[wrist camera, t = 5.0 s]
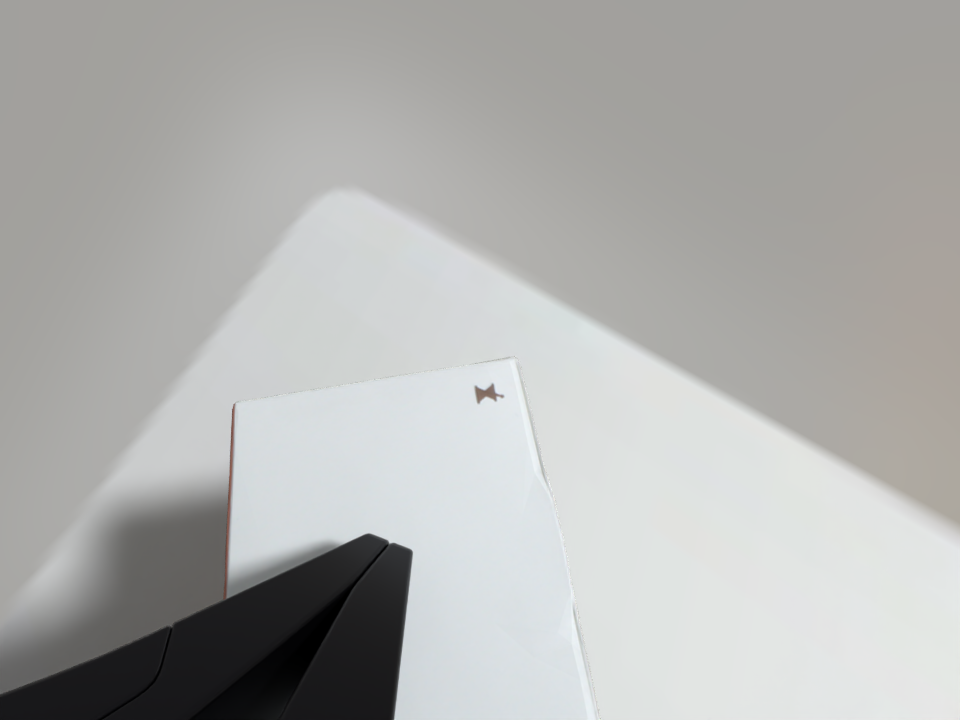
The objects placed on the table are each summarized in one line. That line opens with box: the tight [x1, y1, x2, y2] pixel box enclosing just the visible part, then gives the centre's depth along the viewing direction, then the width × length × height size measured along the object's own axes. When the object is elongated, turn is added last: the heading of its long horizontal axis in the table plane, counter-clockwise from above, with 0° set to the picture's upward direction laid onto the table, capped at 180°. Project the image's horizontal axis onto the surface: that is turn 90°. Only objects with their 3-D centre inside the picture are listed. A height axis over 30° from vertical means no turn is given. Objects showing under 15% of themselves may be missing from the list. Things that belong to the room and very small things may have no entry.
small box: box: [223, 356, 601, 720], centre depth 15 cm, size 8×6×13 cm
